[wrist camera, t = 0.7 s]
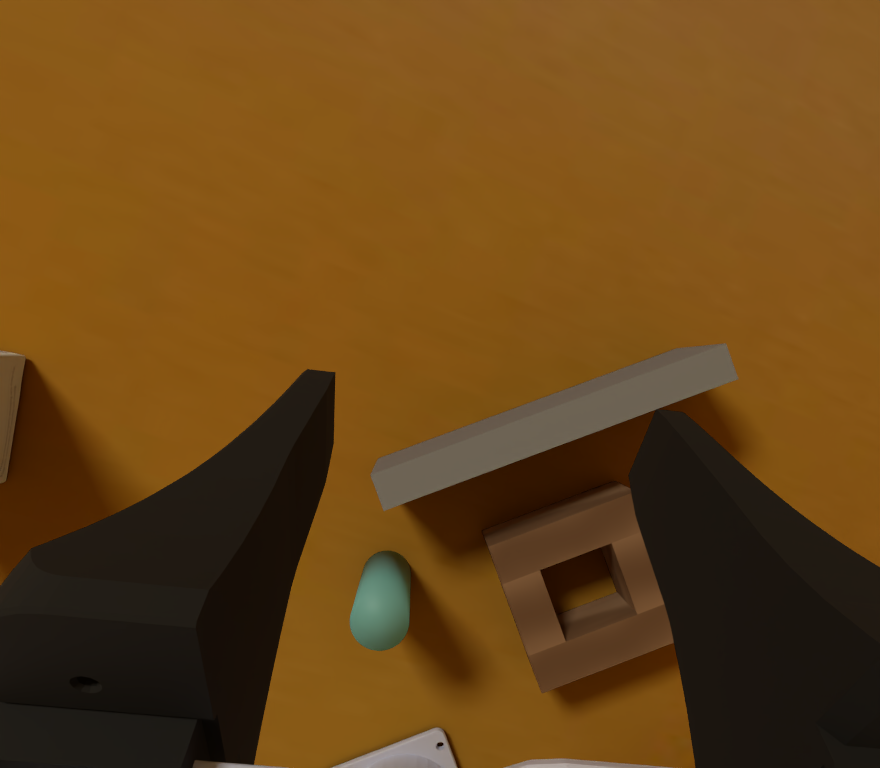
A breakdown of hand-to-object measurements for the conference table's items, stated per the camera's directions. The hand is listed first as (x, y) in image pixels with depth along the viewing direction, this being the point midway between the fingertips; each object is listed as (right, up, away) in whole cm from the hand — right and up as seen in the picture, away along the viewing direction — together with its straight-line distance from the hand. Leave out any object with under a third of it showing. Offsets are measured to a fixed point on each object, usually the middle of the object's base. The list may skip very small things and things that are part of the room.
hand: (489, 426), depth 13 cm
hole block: (+7, -11, +24) cm, 27 cm away
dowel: (-4, -11, +24) cm, 26 cm away
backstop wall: (+5, -1, +24) cm, 24 cm away
